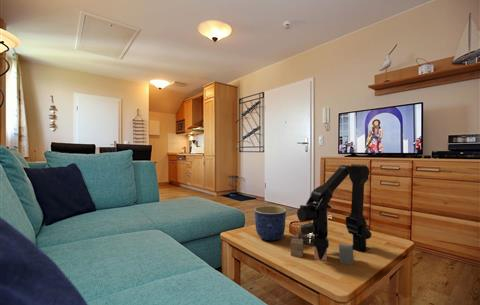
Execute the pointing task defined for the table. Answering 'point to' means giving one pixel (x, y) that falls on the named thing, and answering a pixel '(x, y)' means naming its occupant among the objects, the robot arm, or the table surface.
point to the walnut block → (297, 247)
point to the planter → (270, 222)
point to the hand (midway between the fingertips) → (320, 254)
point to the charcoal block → (346, 254)
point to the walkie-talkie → (302, 237)
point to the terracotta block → (318, 256)
